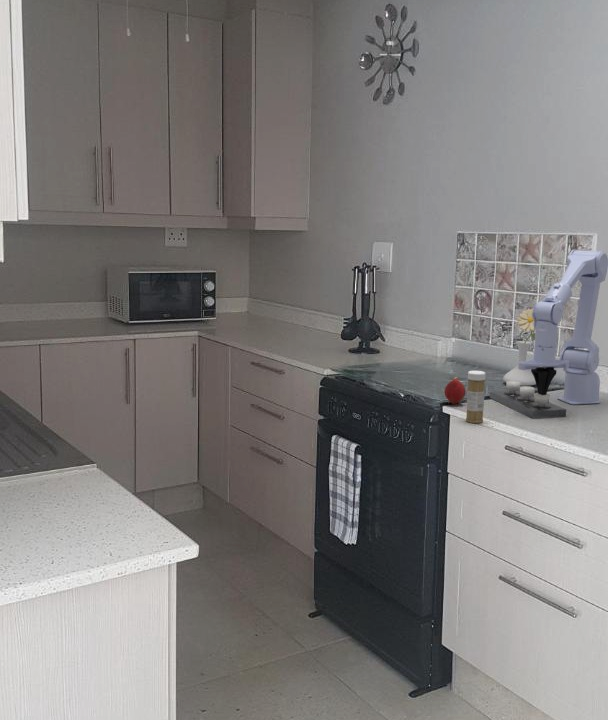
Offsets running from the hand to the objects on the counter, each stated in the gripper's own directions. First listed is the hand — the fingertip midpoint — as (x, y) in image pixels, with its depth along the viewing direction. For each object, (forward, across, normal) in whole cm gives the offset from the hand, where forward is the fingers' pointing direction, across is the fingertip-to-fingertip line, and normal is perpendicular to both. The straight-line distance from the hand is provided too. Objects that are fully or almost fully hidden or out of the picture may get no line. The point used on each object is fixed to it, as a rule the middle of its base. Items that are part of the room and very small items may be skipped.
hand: (541, 394), depth 229 cm
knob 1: (+3, 0, -16) cm, 16 cm away
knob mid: (+3, 0, -8) cm, 9 cm away
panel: (+5, 0, -8) cm, 10 cm away
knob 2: (+3, 0, 0) cm, 3 cm away
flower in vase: (+6, -15, -35) cm, 38 cm away
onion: (+6, +19, -16) cm, 25 cm away
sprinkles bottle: (+6, +22, +3) cm, 23 cm away
